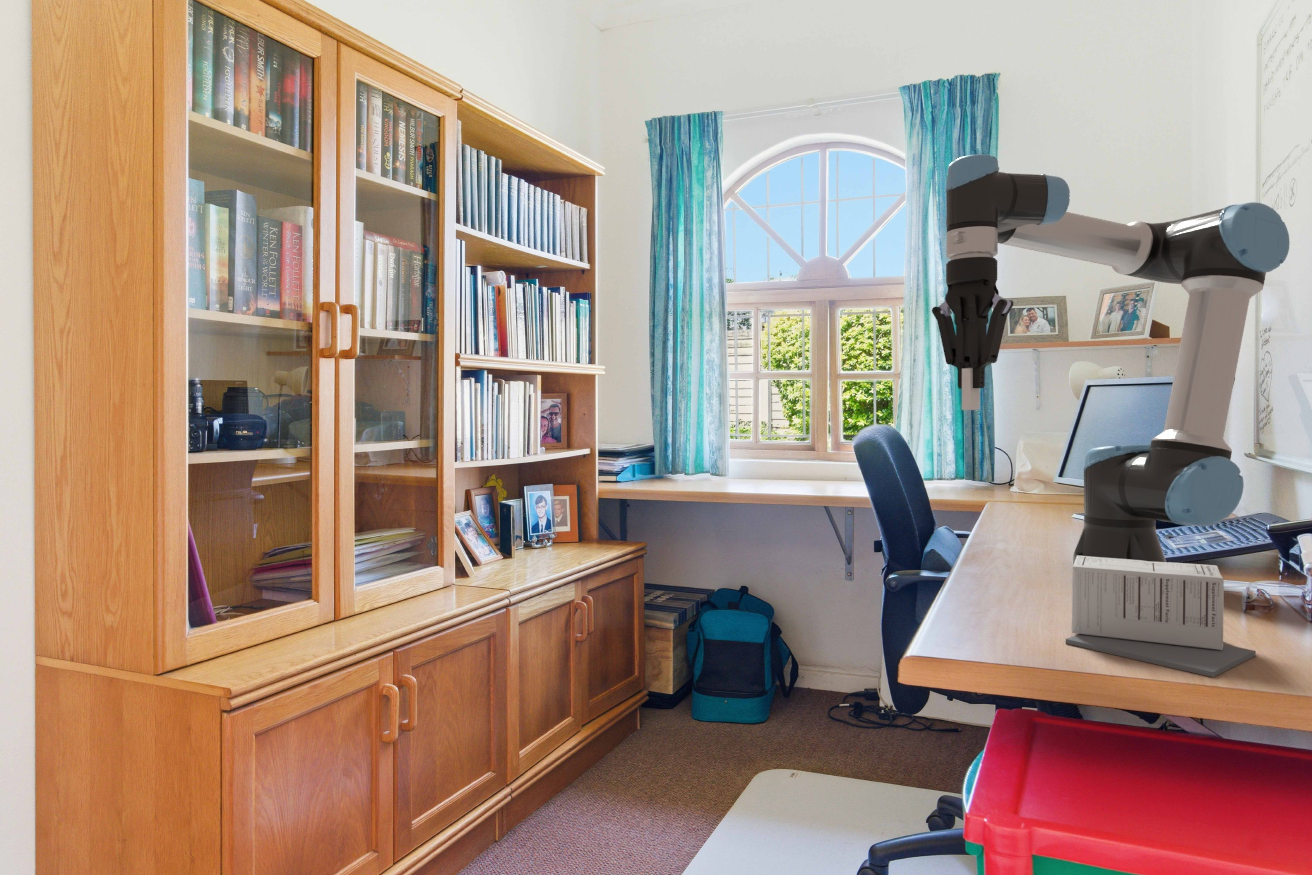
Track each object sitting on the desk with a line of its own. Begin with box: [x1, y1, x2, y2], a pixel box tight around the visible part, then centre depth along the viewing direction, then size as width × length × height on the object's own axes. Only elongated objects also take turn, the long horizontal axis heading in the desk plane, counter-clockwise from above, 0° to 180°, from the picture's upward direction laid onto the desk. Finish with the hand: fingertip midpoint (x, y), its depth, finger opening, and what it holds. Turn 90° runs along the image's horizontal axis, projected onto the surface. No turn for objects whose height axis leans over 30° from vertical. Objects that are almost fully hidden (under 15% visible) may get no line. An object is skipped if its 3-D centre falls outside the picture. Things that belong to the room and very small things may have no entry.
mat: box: [1065, 634, 1256, 678], centre depth 106 cm, size 13×17×1 cm
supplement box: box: [1071, 556, 1225, 650], centre depth 110 cm, size 10×9×17 cm
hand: (970, 409), depth 131 cm, fingers closed
